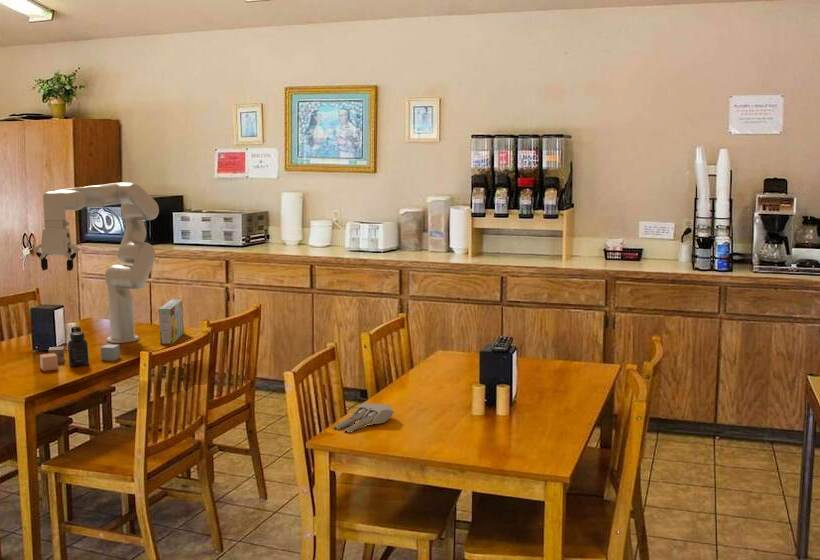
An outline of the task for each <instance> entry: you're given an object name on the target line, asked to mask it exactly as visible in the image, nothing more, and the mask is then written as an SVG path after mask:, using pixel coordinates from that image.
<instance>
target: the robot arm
mask: <svg viewBox="0 0 820 560" xmlns="http://www.w3.org/2000/svg"><path fill="white" fill-rule="evenodd" d="M42 201H43V203H42V204H43V206H42V207H43V220H44V221H43V222H44V224H43V226H44V228H42V232H41V240H40V241H41V243H40V244H38V245H36V246H35V247H33V248H32V249H33V251H34V253H35V256H37V258H39V260H40V267H41V270H42V271H47V270H49V266H48V259H47V257H48V256H65V257H66V259H67V260H66V270H67V271H69V272H70V271H73V270H74V260H75V258H76V257H77V256H78V253H79V252H80V248H79V247H78V246H76V245H74V244H72V237H71V232H70V229H69V228H68V226H70V222H69V221H67V218H66V217H67V216H66V211H71V212H72V211H74V212H75V211H79V210H80V211H81V210H82V209H83V208H101V207H107V206H112V205H113V206H114V205H119V204H121V205H120V212H121V216H122V217H123V219H124V223H125V230H124V235H123V237H122V240H121V242H120V245H119V246H118V249H117V253H116V254H117V257H116V258H117V259H118V261H119V262H120V263H122V264H113V265H111V266H108V267H107V269H106V271H105V272H104V279H105V280H104V281H105V285H106V289H107V295H108V311H109V314H108V315H109V316H108V317H109V331H110V332H109V334H110V335H109V336H107V337H106V342H107V343H108V342H109V343H111V344H125V343H132V342H135V341H138V340H139V336H138V335H137V334H135V318H134V314H135V312H134V298H133V297H134V296H133V294H132V291H131V290H139V289H142V288H143V287H144V286H145V285H146V283H147V281H148V278H149V277H150V274H151V270H152V267H153V266H154V262H155V260H156V250H155V248H154V246H153V245H152V244H150V243H149V242H146V241H145V240H146V237H147V229H146V225H145V223H144V222H143V221H153V220H155V219H157V217H158V215H159V214H160V209H159V204H158V203H157V201H156V200H155V199H154V198H153V197H152V196H151V195H150V194H149V193H148V192H147V191H146V190H145V189H144V188H143V187H141V186H140V185H139V184H138V183H134V182H112V183H105V184H97V185H88V186H83V187H82V186H79V187H72V188H71V187H70V188H63V189H56V190H54V191H46V192H44V193H43V195H42ZM40 249H41V251H40Z"/></svg>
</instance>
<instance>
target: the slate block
mask: <svg viewBox="0 0 820 560" xmlns="http://www.w3.org/2000/svg"><path fill="white" fill-rule="evenodd" d="M120 348H121V347H120V344H104V345H103V346H101V347H100V359H101V361H116V360H118V359H119V358H121V354H120V353H121V351H120Z"/></svg>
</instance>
